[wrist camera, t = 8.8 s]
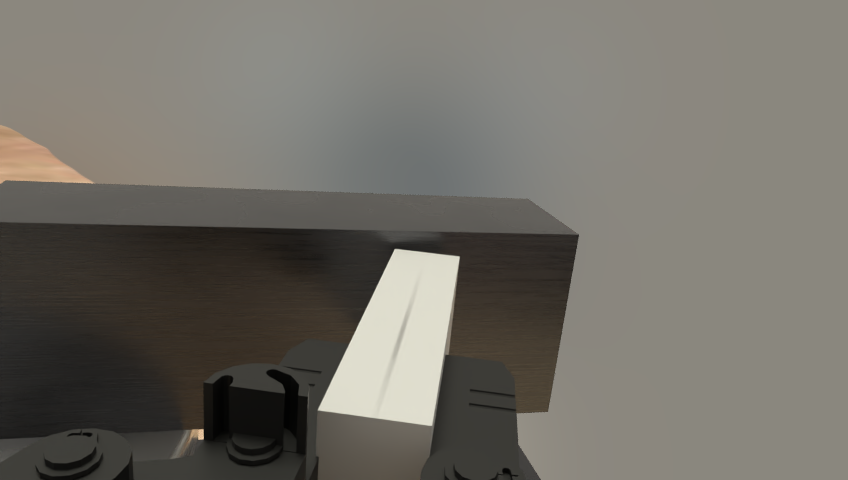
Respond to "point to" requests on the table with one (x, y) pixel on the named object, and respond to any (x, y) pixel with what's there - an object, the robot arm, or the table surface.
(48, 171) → the table surface
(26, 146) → the table surface
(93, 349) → the lid
